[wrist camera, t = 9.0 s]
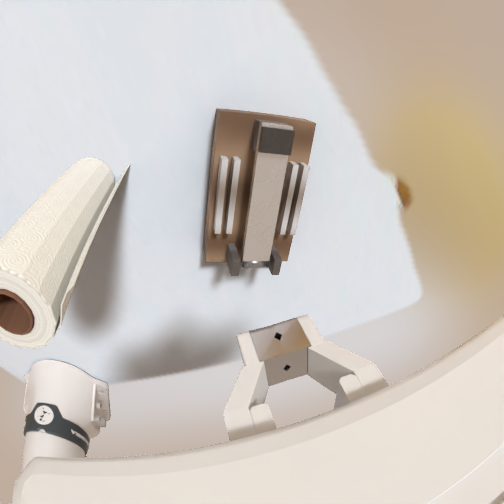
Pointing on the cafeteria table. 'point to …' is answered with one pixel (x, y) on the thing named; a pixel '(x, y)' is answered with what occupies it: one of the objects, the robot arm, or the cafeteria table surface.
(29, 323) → the paper towel roll
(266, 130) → the beige-grey bar
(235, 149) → the wooden base lever press
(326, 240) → the cafeteria table surface
